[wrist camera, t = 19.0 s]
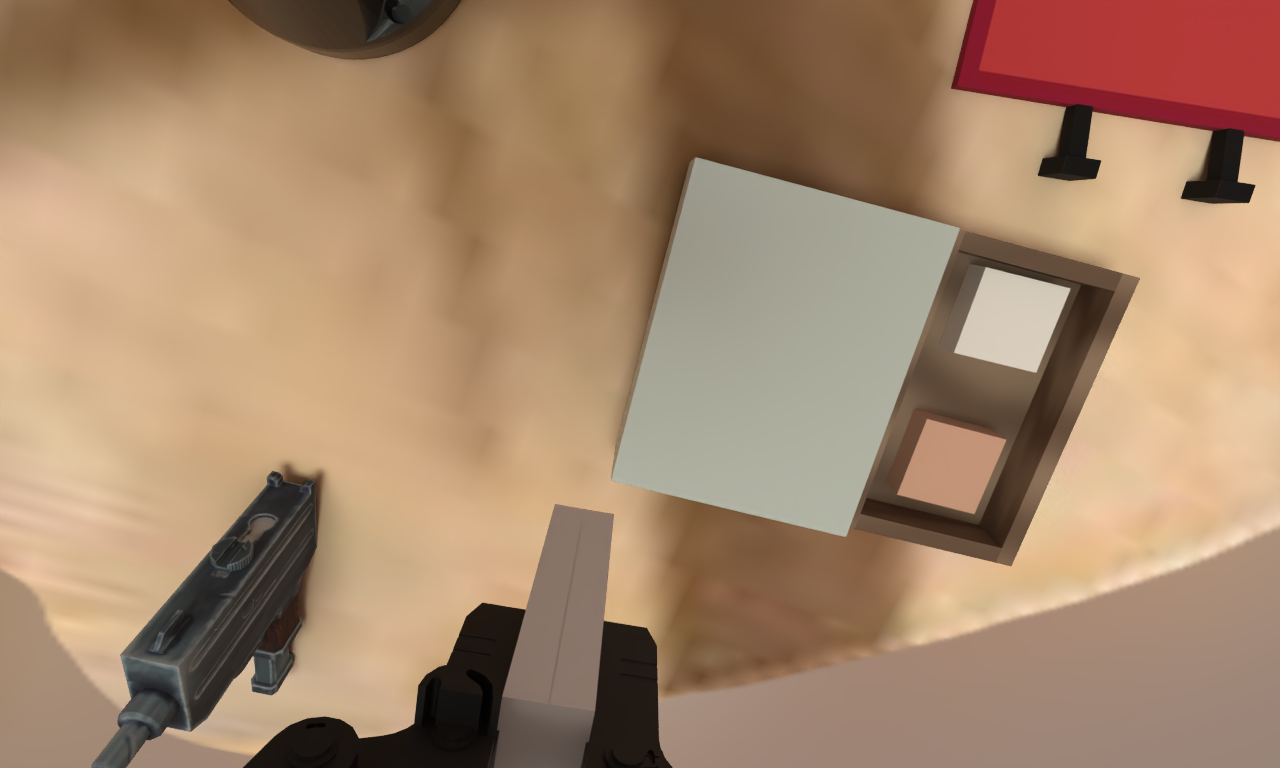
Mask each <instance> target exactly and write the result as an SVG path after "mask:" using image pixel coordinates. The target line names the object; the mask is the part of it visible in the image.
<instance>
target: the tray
mask: <svg viewBox="0 0 1280 768" xmlns="http://www.w3.org/2000/svg"><path fill="white" fill-rule="evenodd" d="M969 264H973V265H978V266H983V267H987V268H991V269H995V270H999V271H1003V272H1007V273H1011V274H1015V275H1019V276H1023V277H1027V278H1031V279H1035V280H1039V281H1043V282H1047V283H1051V284H1055V285H1059V286H1063V287H1067V288H1071V289H1070V292H1069V294H1068V296H1067V299H1066V301H1065V304H1064V306H1063V309H1062V311H1061V314H1060V316H1059V318H1058V321H1057V323H1056V326H1055V328H1054V331H1053V333H1052V335H1051V338H1050V340H1049V343H1048V345H1047V348H1046V350H1045V353H1044V355H1043V357H1042V360H1041V362H1040V365H1039V367H1038V370H1037V372H1036V373H1035V372H1030V371H1026V370H1022V369H1018V368H1014V367H1010V366H1006V365H1002V364H998V363H994V362H990V361H985V360H981V359H977V358H973V357H969V356H965V355H961V354H957V353H953V352H951V351H949V350H947V349H946V348H944V347H942V346H940V343H941V340H942V337H943V335H944V332H945V329H946V327H947V324H948V321H949V318H950V316H951V313H952V310H953V307H954V305H955V302H956V299H957V297H958V294H959V291H960V288H961V286H962V283H963V280H964V277H965V275H966V272H967V269H968V267H969ZM1139 280H1140V278H1138V277H1134V276H1130V275H1126V274H1123V273H1119V272H1115V271H1112V270H1108V269H1104V268H1100V267H1097V266H1093V265H1089V264H1085V263H1082V262H1078V261H1074V260H1070V259H1067V258H1063V257H1059V256H1055V255H1052V254H1048V253H1044V252H1040V251H1037V250H1033V249H1029V248H1026V247H1022V246H1018V245H1014V244H1011V243H1007V242H1003V241H999V240H996V239H992V238H988V237H984V236H981V235H977V234H973V233H969V232H966V231H962V230H959V233H958V236H957V238H956V241H955V244H954V246H953V249H952V252H951V255H950V257H949V260H948V263H947V265H946V268H945V271H944V273H943V276H942V279H941V282H940V284H939V287H938V290H937V292H936V295H935V298H934V300H933V303H932V306H931V309H930V311H929V314H928V317H927V319H926V322H925V325H924V327H923V330H922V333H921V336H920V338H919V341H918V344H917V346H916V349H915V352H914V355H913V357H912V360H911V363H910V365H909V368H908V371H907V373H906V376H905V379H904V382H903V384H902V387H901V390H900V392H899V395H898V398H897V400H896V403H895V406H894V409H893V411H892V414H891V417H890V419H889V422H888V425H887V428H886V430H885V433H884V436H883V438H882V441H881V444H880V446H879V449H878V452H877V455H876V457H875V460H874V463H873V465H872V468H871V471H870V473H869V476H868V479H867V482H866V484H865V487H864V490H863V492H862V495H861V498H860V500H859V503H858V506H857V509H856V511H855V514H854V517H853V519H852V522H851V525H850V528H854V529H858V530H862V531H866V532H870V533H875V534H879V535H883V536H887V537H891V538H895V539H900V540H904V541H908V542H912V543H916V544H920V545H925V546H929V547H933V548H937V549H941V550H945V551H950V552H954V553H958V554H962V555H966V556H970V557H975V558H979V559H983V560H987V561H991V562H995V563H1000V564H1004V565H1008V566H1012V564H1013V561H1014V559H1015V557H1016V555H1017V552H1018V550H1019V548H1020V546H1021V543H1022V541H1023V539H1024V537H1025V534H1026V532H1027V530H1028V528H1029V525H1030V523H1031V521H1032V519H1033V517H1034V514H1035V512H1036V510H1037V508H1038V505H1039V503H1040V501H1041V499H1042V496H1043V494H1044V492H1045V490H1046V487H1047V485H1048V483H1049V481H1050V479H1051V476H1052V474H1053V472H1054V470H1055V467H1056V465H1057V463H1058V461H1059V458H1060V456H1061V454H1062V452H1063V449H1064V447H1065V445H1066V443H1067V441H1068V438H1069V436H1070V434H1071V432H1072V429H1073V427H1074V425H1075V423H1076V420H1077V418H1078V416H1079V414H1080V411H1081V409H1082V407H1083V405H1084V403H1085V400H1086V398H1087V396H1088V394H1089V391H1090V389H1091V387H1092V385H1093V382H1094V380H1095V378H1096V376H1097V373H1098V371H1099V369H1100V367H1101V364H1102V362H1103V360H1104V358H1105V356H1106V353H1107V351H1108V349H1109V347H1110V344H1111V342H1112V340H1113V338H1114V335H1115V333H1116V331H1117V329H1118V326H1119V324H1120V322H1121V320H1122V318H1123V315H1124V313H1125V311H1126V309H1127V306H1128V304H1129V302H1130V300H1131V297H1132V295H1133V293H1134V291H1135V288H1136V286H1137V284H1138V282H1139ZM914 409H917V410H921V411H925V412H928V413H932V414H936V415H940V416H944V417H948V418H951V419H955V420H959V421H963V422H967V423H971V424H974V425H978V426H982V427H986V428H990V429H992V430H993V431H994V432H996V433H997V434H999V435H1000V436H1002V437H1003V438H1005V439H1006V442H1005V445H1004V447H1003V449H1002V452H1001V454H1000V456H999V458H998V461H997V463H996V465H995V468H994V470H993V472H992V475H991V477H990V479H989V482H988V484H987V486H986V488H985V491H984V493H983V495H982V498H981V500H980V502H979V505H978V507H977V509H976V512H975V514H972V513H968V512H964V511H960V510H956V509H952V508H948V507H944V506H940V505H936V504H932V503H928V502H924V501H920V500H917V499H913V498H909V497H905V496H901V495H897V494H896V493H895V491H894V490H893V489H892V488H891V487H890V485H889V484H888V483H887V482H886V480H887V478H888V475H889V472H890V470H891V467H892V465H893V462H894V460H895V457H896V454H897V452H898V449H899V447H900V444H901V442H902V439H903V436H904V434H905V431H906V429H907V426H908V424H909V421H910V418H911V416H912V413H913V411H914Z"/></svg>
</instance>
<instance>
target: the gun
mask: <svg viewBox="0 0 1280 768" xmlns="http://www.w3.org/2000/svg"><path fill="white" fill-rule="evenodd" d="M316 547H317V536H316V489H315V480H310V479H309V480H306V481H305V482H304V483H303V484H302V485H300V484H296V483H291V482H287V481H283V476H282V475H281V474H280V473H279V472H274V471H272V472H271V473H270V474H269V476H268V477H267V486H266V487H265V488H264V489H263V490H262V492H261V493H260V494H259V495H258V496H257V497H256V499H255V500H254V501H253V502H252V503H251V504H250V505H249V507H248V508H247V509H246V510H245V511H244V512H243V514H242V515H241V516H240V517H239V518H238V519H237V521H236V522H235V523H234V524H233V525H232V526H231V527H230V529H229V530H228V531H227V532H226V533H225V534H224V536H223V537H222V538H221V539H220V540H219V541H218V543H216V544H215V545H213V547H212V549H211V551H210V552H209V553H208V554H207V555H206V556H205V558H204V559H203V560H202V561H201V562H200V563H199V564H198V566H197V567H196V568H195V569H194V570H193V571H192V573H191V574H190V575H189V576H188V577H187V578H186V580H185V581H184V582H183V583H182V584H181V585H180V586H179V588H178V589H177V590H176V591H175V592H174V593H173V595H172V596H171V597H170V598H169V599H168V600H167V602H166V603H165V604H164V605H163V606H162V607H161V608H160V610H159V611H158V612H157V613H156V614H155V615H154V617H153V618H152V619H151V620H150V621H149V622H148V624H147V625H146V626H145V627H144V628H143V629H142V630H141V632H140V633H139V634H138V635H137V636H136V637H135V639H134V640H133V641H132V642H131V643H130V644H129V645H128V647H127V648H126V649H125V650H124V651H123V652H122V654H121V655H120V656H121V660H122V664H123V668H124V672H125V676H126V680H127V684H128V688H129V692H130V696H131V700H130V701H129V703H128V704H127V705H126V707H125V708H124V709H123V710H122V712H121V713H120V714H119V717H118V725H119V727H120V729H119V730H118V732H117V733H116V734H115V735H114V737H113V738H112V739H111V741H110V742H109V743H108V745H107V746H106V747H105V748H104V750H103V751H102V752H101V754H100V755H99V756H98V757H97V759H96V760H95V761H94V762H93V764H92V767H91V768H126V767H127V765H128V764H129V763H130V762H131V760H132V759H133V757H134V756H135V755H136V753H137V752H138V751H139V749H140V748H141V747H142V745H143V744H144V743H145V741H146V740H151V739H154V738H156V737H158V736H161V734H162V733H163V732H164V730H165V729H166V727H169V728H174V729H179V730H184V731H189V732H191V731H192V730H194V729H195V728H196V727H197V726H198V725H200V724H201V723H202V722H203V721H205V720H206V719H207V718H208V716H209V715H210V713H211V712H212V710H213V709H214V707H215V706H216V704H217V703H218V702H219V700H220V699H221V697H222V696H223V694H224V693H225V691H226V690H227V688H228V687H229V685H230V684H231V682H232V681H233V679H235V678H236V677H237V676H238V675H239V674H240V673H241V672H242V671H243V670H244V668H245V667H246V665H247V664H248V662H249V661H250V659H251V658H252V656H254V664H255V674H254V676H253V677H252V679H251V684H252V691H253V692H257V693H262V694H267V695H273V694H274V693H276V692H277V691H278V690H279V688H280V686H281V685H282V683H283V681H284V680H285V678H286V676H287V675H288V673H289V671H290V670H291V668H292V666H293V658H292V654H290V653H289V646H290V644H291V642H292V641H293V639H294V638H295V636H296V634H297V633H298V631H299V630H300V628H301V626H302V620H301V617H300V614H298V613H297V597H298V591H299V589H300V579H301V578H302V576H303V574H304V572H305V570H306V568H307V566H308V564H309V562H310V560H311V558H312V556H313V553H314V551H315V549H316Z"/></svg>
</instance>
